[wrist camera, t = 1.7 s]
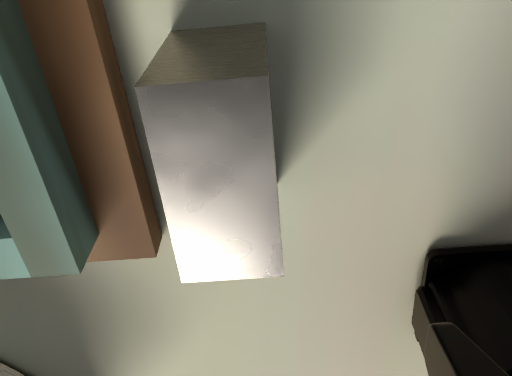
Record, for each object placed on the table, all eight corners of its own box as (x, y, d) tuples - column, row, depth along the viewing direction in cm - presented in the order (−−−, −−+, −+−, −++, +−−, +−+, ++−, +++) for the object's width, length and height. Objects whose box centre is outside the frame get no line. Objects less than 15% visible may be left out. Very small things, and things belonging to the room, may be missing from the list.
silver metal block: (265, 22, 17) (268, 75, 12) (277, 183, 20) (283, 276, 15) (171, 30, 17) (134, 86, 12) (200, 188, 21) (181, 282, 16)
